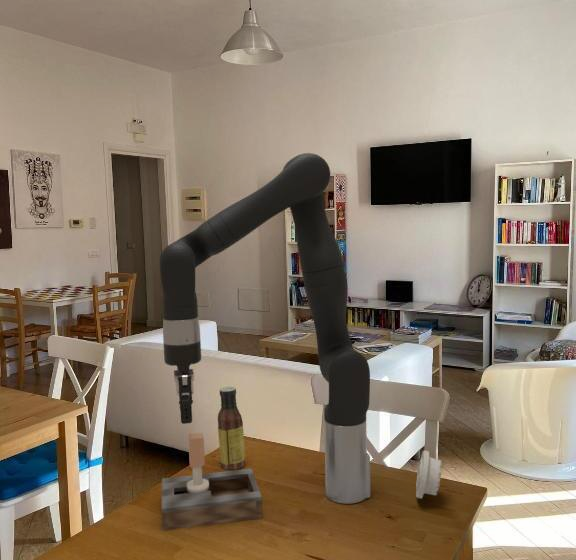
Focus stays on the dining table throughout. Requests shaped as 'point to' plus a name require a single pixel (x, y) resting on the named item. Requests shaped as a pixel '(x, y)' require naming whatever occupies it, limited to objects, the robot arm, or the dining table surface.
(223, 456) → the sauce bottle
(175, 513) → the keyhole plate
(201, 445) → the keyhole peg
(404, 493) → the dining table surface
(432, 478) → the mechanical component
